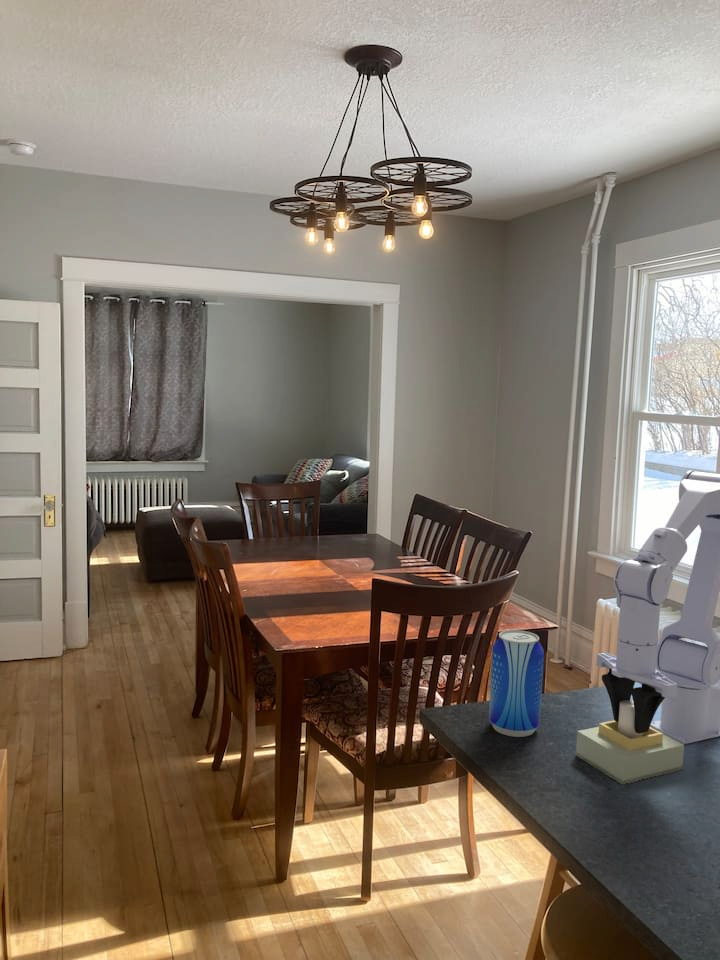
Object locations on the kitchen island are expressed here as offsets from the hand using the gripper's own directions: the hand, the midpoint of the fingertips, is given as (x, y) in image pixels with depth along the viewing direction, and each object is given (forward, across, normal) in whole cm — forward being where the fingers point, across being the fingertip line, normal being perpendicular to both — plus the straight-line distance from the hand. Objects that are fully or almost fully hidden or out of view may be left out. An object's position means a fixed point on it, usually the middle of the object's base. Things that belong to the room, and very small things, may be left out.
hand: (630, 725), depth 123 cm
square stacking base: (+6, 0, 0) cm, 6 cm away
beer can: (+6, -17, -9) cm, 20 cm away
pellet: (+2, 0, 0) cm, 2 cm away
